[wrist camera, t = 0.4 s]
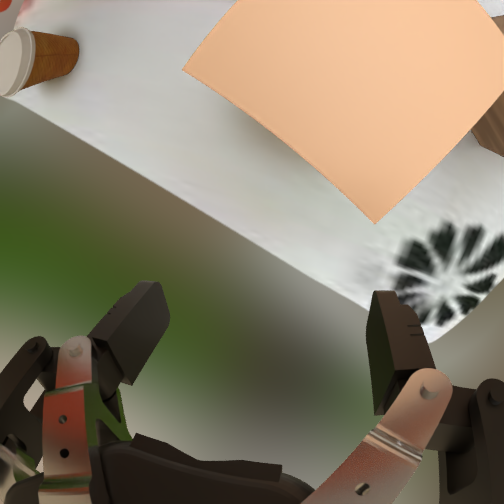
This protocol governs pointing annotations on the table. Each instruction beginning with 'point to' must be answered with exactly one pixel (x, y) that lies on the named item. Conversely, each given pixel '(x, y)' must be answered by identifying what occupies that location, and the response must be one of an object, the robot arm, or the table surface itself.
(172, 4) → the table surface
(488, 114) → the walnut block
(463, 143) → the table surface
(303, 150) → the pedestal
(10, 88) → the disposable coffee cup
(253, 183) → the table surface
